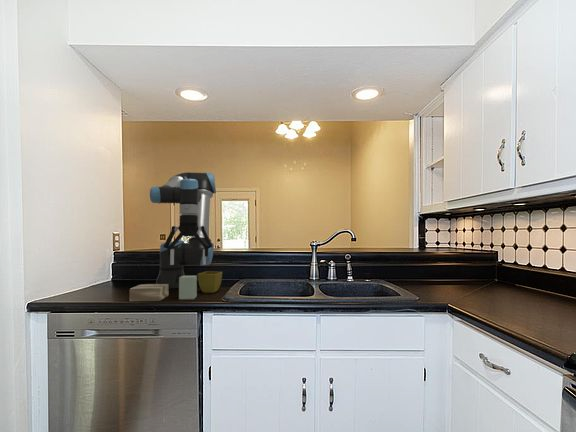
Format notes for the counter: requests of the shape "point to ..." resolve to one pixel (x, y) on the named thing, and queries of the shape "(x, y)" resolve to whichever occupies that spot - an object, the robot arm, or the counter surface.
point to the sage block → (187, 287)
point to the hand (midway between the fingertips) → (188, 264)
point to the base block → (149, 292)
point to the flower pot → (209, 281)
